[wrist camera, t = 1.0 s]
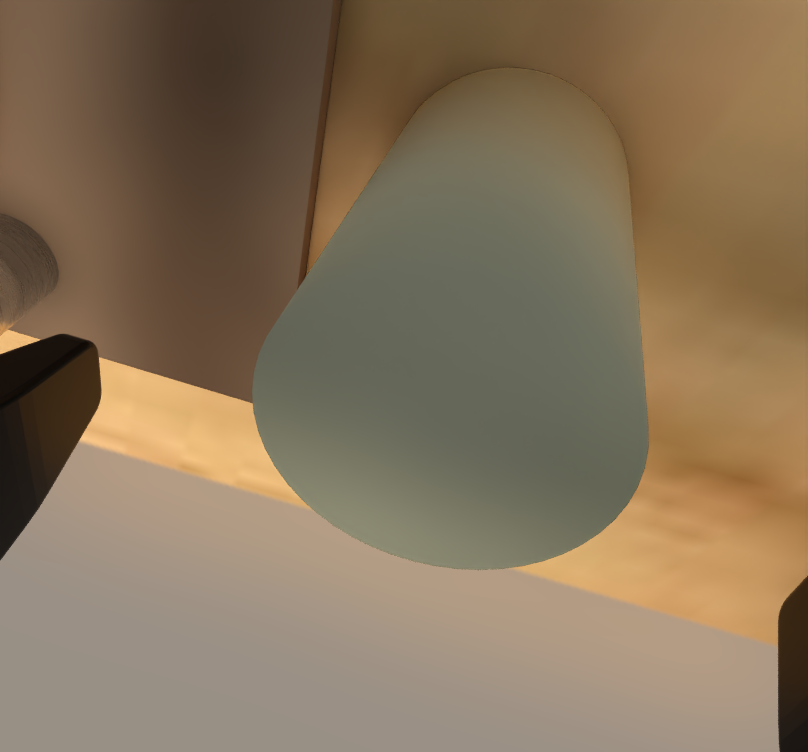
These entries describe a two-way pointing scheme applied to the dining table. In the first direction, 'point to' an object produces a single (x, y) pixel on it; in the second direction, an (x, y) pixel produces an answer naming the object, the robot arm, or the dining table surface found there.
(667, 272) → the dining table surface
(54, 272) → the steel post
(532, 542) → the sage cylinder
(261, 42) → the course board
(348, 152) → the dining table surface
